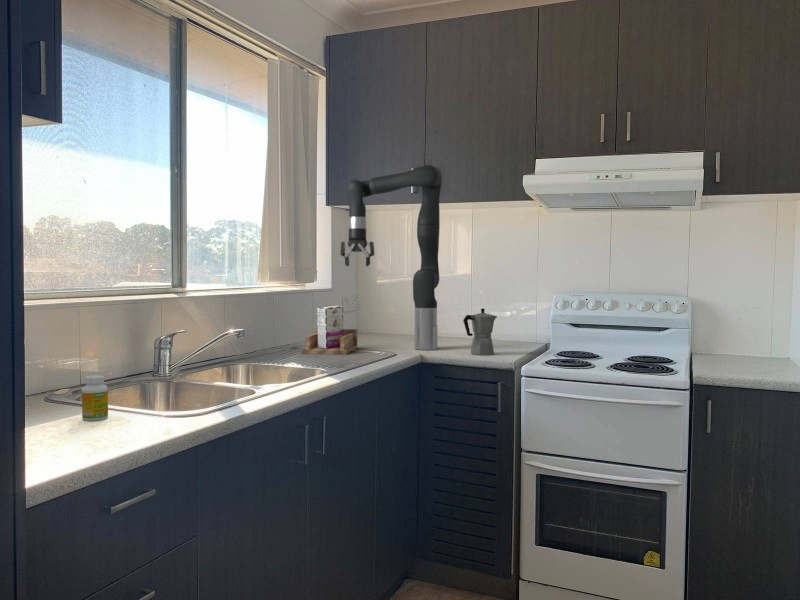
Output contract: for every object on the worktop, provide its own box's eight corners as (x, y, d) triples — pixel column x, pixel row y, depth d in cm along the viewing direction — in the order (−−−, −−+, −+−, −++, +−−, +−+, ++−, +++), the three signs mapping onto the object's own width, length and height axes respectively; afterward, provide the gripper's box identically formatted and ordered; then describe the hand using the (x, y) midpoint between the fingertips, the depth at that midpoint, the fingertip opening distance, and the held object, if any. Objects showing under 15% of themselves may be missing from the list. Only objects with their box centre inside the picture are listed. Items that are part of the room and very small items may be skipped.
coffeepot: (489, 351, 271) (489, 307, 270) (503, 354, 263) (503, 308, 262) (456, 353, 264) (457, 308, 263) (470, 356, 256) (470, 309, 255)
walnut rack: (357, 348, 278) (357, 329, 278) (346, 354, 260) (346, 334, 259) (315, 347, 281) (315, 328, 281) (301, 353, 263) (301, 333, 262)
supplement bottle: (95, 422, 150) (94, 379, 149) (76, 420, 152) (75, 377, 151) (113, 417, 155) (112, 375, 154) (95, 415, 157) (94, 373, 156)
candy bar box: (334, 345, 277) (334, 305, 276) (343, 346, 274) (343, 306, 273) (316, 348, 267) (316, 307, 266) (326, 349, 265) (326, 307, 264)
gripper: (375, 228, 287) (375, 266, 288) (343, 228, 289) (343, 266, 290) (372, 227, 279) (371, 266, 280) (338, 227, 282) (338, 266, 283)
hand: (357, 266), depth 285 cm, fingers open, 8 cm apart
